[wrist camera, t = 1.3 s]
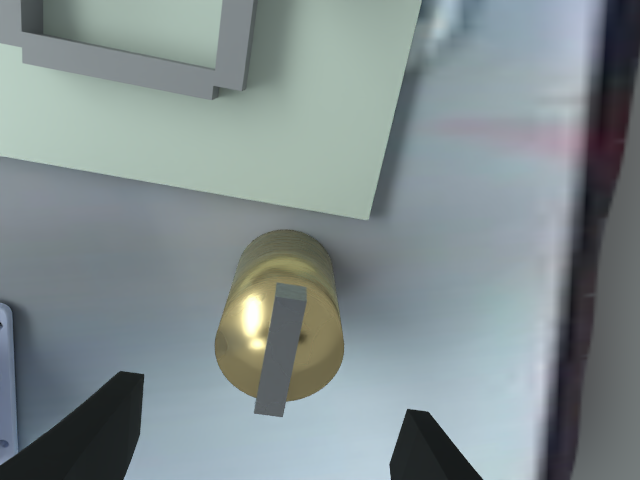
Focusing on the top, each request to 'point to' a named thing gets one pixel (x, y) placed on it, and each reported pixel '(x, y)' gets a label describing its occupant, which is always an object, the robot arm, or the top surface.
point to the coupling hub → (281, 321)
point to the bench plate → (209, 93)
